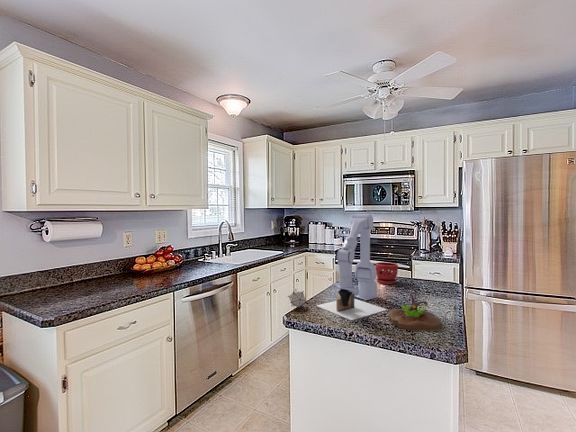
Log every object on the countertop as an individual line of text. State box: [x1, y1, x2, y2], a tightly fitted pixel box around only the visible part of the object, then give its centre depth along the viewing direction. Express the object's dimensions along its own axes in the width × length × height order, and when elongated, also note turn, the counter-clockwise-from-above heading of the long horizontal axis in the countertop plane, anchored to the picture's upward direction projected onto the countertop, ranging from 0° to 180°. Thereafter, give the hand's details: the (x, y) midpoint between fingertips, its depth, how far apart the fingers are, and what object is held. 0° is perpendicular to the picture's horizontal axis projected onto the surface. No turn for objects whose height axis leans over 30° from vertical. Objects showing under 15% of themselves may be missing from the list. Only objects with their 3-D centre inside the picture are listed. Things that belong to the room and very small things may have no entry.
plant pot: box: [375, 261, 399, 285], centre depth 193 cm, size 13×13×12 cm
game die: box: [287, 288, 309, 310], centre depth 146 cm, size 9×8×10 cm
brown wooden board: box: [336, 297, 351, 311], centre depth 142 cm, size 8×1×5 cm, turn 122°
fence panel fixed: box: [337, 292, 355, 308], centre depth 148 cm, size 10×2×6 cm, turn 35°
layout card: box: [315, 298, 388, 322], centre depth 145 cm, size 23×23×1 cm
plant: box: [388, 293, 443, 331], centre depth 128 cm, size 20×20×11 cm
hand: (345, 306), depth 140 cm, fingers closed
